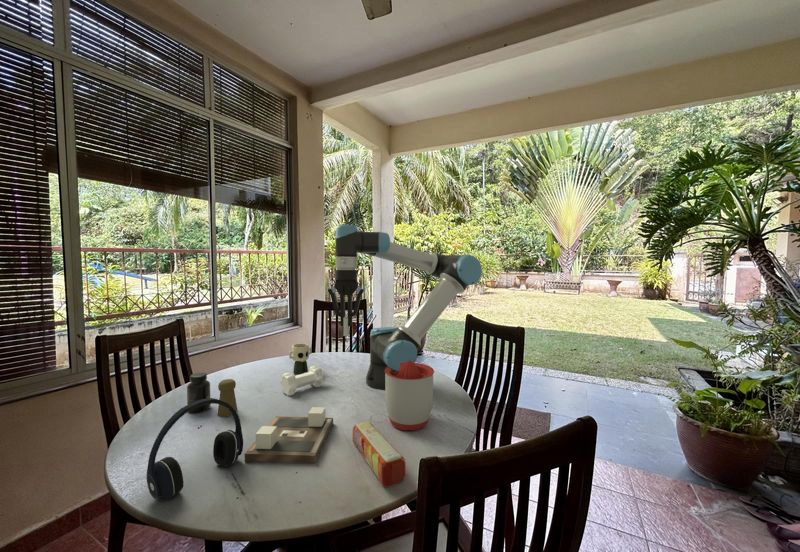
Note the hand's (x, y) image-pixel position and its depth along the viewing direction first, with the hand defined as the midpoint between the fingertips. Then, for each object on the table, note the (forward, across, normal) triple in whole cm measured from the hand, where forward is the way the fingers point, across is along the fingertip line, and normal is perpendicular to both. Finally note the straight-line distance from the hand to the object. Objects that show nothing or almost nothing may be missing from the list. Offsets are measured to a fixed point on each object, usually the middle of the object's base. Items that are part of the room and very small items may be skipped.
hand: (346, 335), depth 119 cm
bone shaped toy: (+25, -19, +11) cm, 33 cm away
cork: (+25, -38, -10) cm, 46 cm away
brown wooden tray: (+24, -10, -26) cm, 37 cm away
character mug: (+25, -26, +28) cm, 45 cm away
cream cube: (+22, -15, -32) cm, 42 cm away
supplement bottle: (+25, -49, -8) cm, 55 cm away
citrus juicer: (+25, +22, -13) cm, 35 cm away
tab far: (+22, -5, -20) cm, 30 cm away
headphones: (+25, -26, -43) cm, 56 cm away
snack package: (+25, +14, -34) cm, 45 cm away
